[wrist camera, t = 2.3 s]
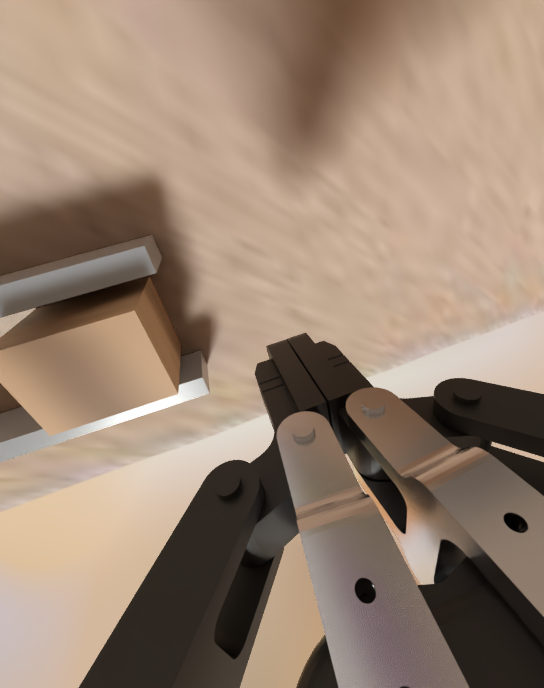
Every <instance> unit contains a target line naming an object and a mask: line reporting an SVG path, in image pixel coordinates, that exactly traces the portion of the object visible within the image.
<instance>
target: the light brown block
mask: <svg viewBox="0 0 544 688" xmlns="http://www.w3.org/2000/svg"><path fill="white" fill-rule="evenodd" d="M180 357H181V343H180V341H179V339H178V337H177V334H176V332H175V330H174V328H173V326H172V324H171V321H170V319H169V317H168V315H167V313H166V311H165V308H164V306H163V304H162V302H161V300H160V298H159V295H158V293H157V291H156V289H155V287H154V285H153V282H152V280H151V278H150V276H149V277H145V278H142V279H138V280H135V281H131V282H128V283H124V284H121V285H117V286H114V287H110V288H107V289H103V290H100V291H96V292H93V293H90V294H86V295H83V296H79V297H76V298H72V299H69V300H65V301H62V302H58V303H55V304H51V305H48V306H44V307H41V308H37V309H35V310H34V311H33V312H31V313H30V314H29V315H28V316H27V317H25V318H24V319H23V320H22V321H20V322H19V323H18V324H17V325H16V326H14V327H13V328H12V329H11V330H9V331H8V332H7V333H6V334H5V335H3V336H2V337H1V338H0V383H1V384H2V385H3V386H4V387H5V388H6V390H7V391H8V392H9V393H10V394H11V395H12V396H13V397H14V398H15V399H16V400H17V401H18V402H19V403H20V405H21V406H22V407H23V408H24V409H25V410H26V411H27V412H28V413H29V414H30V415H31V416H32V417H33V418H34V419H35V421H36V422H37V423H38V424H39V425H40V426H41V427H42V428H43V429H44V430H45V431H46V432H47V433H48V434H49V436H52V435H55V434H58V433H61V432H64V431H67V430H70V429H73V428H77V427H80V426H83V425H86V424H89V423H92V422H95V421H98V420H101V419H104V418H107V417H110V416H113V415H116V414H119V413H122V412H125V411H128V410H131V409H134V408H137V407H140V406H143V405H146V404H149V403H152V402H155V401H159V400H162V399H165V398H168V397H171V396H174V395H177V394H178V390H179V374H180Z"/></svg>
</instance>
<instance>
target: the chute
mask: <svg viewBox="0 0 544 688" xmlns="http://www.w3.org/2000/svg"><path fill="white" fill-rule="evenodd" d="M161 260H162V256H161V254H160V251H159V249H158V247H157V244H156V242H155V239H154V237H153V235H149V236H145V237H141V238H138V239H134V240H130V241H127V242H123V243H119V244H116V245H112V246H108V247H105V248H101V249H97V250H94V251H90V252H86V253H83V254H79V255H75V256H72V257H68V258H64V259H60V260H57V261H53V262H49V263H46V264H42V265H38V266H35V267H31V268H27V269H24V270H20V271H16V272H13V273H9V274H5V275H2V276H0V318H1V317H4V316H8V315H11V314H15V313H18V312H22V311H25V310H29V309H32V308H36V307H39V306H43V305H46V304H50V303H54V302H57V301H61V300H64V299H68V298H71V297H75V296H78V295H82V294H85V293H89V292H92V291H96V290H99V289H103V288H106V287H110V286H113V285H117V284H120V283H124V282H127V281H131V280H134V279H138V278H141V277H145V276H148V275H152V274H155V273H157V270H158V268H159V265H160V262H161ZM209 393H210V392H209V380H208V368H207V363H206V361H205V359H204V356H203V354H202V351H201V350H200V351H197V352H194V353H191V354H187V355H184V356H181V357H180V374H179V390H178V394H177V395H174V396H171V397H168V398H165V399H162V400H159V401H155V402H152V403H149V404H146V405H143V406H140V407H137V408H134V409H131V410H128V411H125V412H122V413H119V414H116V415H113V416H110V417H107V418H104V419H101V420H98V421H95V422H92V423H89V424H86V425H83V426H80V427H77V428H73V429H70V430H67V431H64V432H61V433H58V434H55V435H52V436H49V434H48V433H47V432H46V431H45V430H44V429H43V428H42V427H41V426H40V425H39V424H38V423H37V422H36V421H35V419H34V418H33V417H32V416H31V415H30V414H29V413H28V412H27V411H26V410H25V409H24V408H23V407H19V408H16V409H12V410H9V411H6V412H3V413H0V462H3V461H6V460H9V459H12V458H15V457H18V456H21V455H24V454H27V453H30V452H33V451H36V450H39V449H43V448H46V447H49V446H52V445H55V444H58V443H61V442H64V441H67V440H70V439H73V438H76V437H79V436H82V435H85V434H88V433H91V432H94V431H97V430H100V429H103V428H106V427H109V426H112V425H115V424H118V423H121V422H124V421H128V420H131V419H134V418H137V417H140V416H143V415H146V414H149V413H152V412H155V411H158V410H161V409H164V408H167V407H170V406H173V405H176V404H179V403H182V402H185V401H188V400H191V399H194V398H197V397H200V396H203V395H206V394H209Z"/></svg>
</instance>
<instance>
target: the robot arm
mask: <svg viewBox="0 0 544 688" xmlns="http://www.w3.org/2000/svg"><path fill="white" fill-rule="evenodd" d="M266 347H267V352H268V355H269V359H270V360H267V361H264V362H261V363H258V364H257V367H256V371H255V376H256V379H257V382H258V385H259V388H260V392H261V395H262V398H263V401H264V404H265V407H266V410H267V412H268V415H269V418H270V420H271V423H272V426H273V429H274V432H275V433H274V438H273V441H272V443H271V445H270V446H269V448H268V449H267V450H266V451H265V452H264V453H263V454H262V455H261V456H259V457H258V458H256V459H255V460H254V461H252V462H251V463H248V462H246V461H242V460H233V461H228V462H225V463H223V464H221V465H219V466H218V467H216V468H215V469H214V470H212V472H211V473H210V474H209V475H208V476H207V477H206V479H205V480H204V482H203V484H202V485H201V487H200V488H199V490H198V492H197V493H196V495H195V497H194V498H193V500H192V502H191V503H190V505H189V507H188V508H187V510H186V512H185V513H184V515H183V517H182V518H181V520H180V522H179V523H178V525H177V526H176V528H175V530H174V531H173V533H172V535H171V536H170V538H169V540H168V541H167V543H166V545H165V546H164V548H163V550H162V551H161V553H160V555H159V556H158V558H157V559H156V561H155V563H154V565H153V566H152V568H151V569H150V571H149V573H148V574H147V576H146V578H145V579H144V581H143V583H142V584H141V586H140V587H139V589H138V591H137V592H136V594H135V596H134V597H133V599H132V601H131V602H130V604H129V606H128V607H127V609H126V611H125V612H124V614H123V616H122V617H121V619H120V620H119V622H118V624H117V625H116V627H115V629H114V630H113V632H112V634H111V635H110V637H109V639H108V640H107V642H106V644H105V645H104V647H103V649H102V650H101V652H100V653H99V655H98V657H97V658H96V660H95V662H94V664H93V665H92V667H91V668H90V670H89V672H88V673H87V675H86V677H85V678H84V680H83V682H82V683H81V685H80V687H79V688H240V685H241V682H242V678H243V675H244V672H245V669H246V666H247V663H248V660H249V657H250V654H251V650H252V647H253V644H254V641H255V638H256V635H257V632H258V629H259V626H260V622H261V619H262V616H263V613H264V610H265V607H266V604H267V601H268V597H269V595H270V591H271V588H272V585H273V582H274V579H275V576H276V573H277V570H278V567H279V564H280V560H281V557H282V554H283V550H284V546H285V545H286V544H287V543H288V542H290V541H291V540H292V539H293V538H294V537H295V536H296V535H297V534H298V533H300V537H301V540H302V545H303V548H304V553H305V557H306V561H307V564H308V569H309V572H310V577H311V580H312V584H313V588H314V592H315V596H316V600H317V604H318V608H319V612H320V616H321V620H322V624H323V628H324V632H325V635H324V637H323V638H322V639H321V641H320V642H319V643H318V645H317V646H316V647H315V649H314V650H313V652H312V654H311V656H310V657H309V659H308V661H307V663H306V665H305V667H304V670H303V672H302V674H301V677H300V679H299V681H298V684H297V688H544V462H541V461H538V460H534V459H531V458H528V457H525V456H521V455H518V454H515V453H512V452H509V451H506V450H502V449H499V448H496V447H493V446H491V443H492V442H495V443H499V444H502V445H505V446H509V447H512V448H515V449H519V450H522V451H525V452H529V453H532V454H535V455H538V456H542V457H544V394H540V393H535V392H530V391H525V390H520V389H515V388H511V387H506V386H501V385H496V384H491V383H486V382H481V381H477V380H472V379H465V378H454V379H448V380H445V381H443V382H441V383H440V384H438V385H437V386H436V388H435V390H434V396H431V397H420V398H409V399H401V398H398V397H397V396H396V395H394V394H393V393H392V392H390V391H388V390H385V389H381V388H374V387H373V386H372V385H371V384H370V383H369V381H368V380H367V379H366V378H365V377H364V376H363V375H362V374H361V373H360V372H359V371H358V370H357V369H356V368H355V366H354V365H353V364H352V363H351V362H349V360H348V359H347V358H346V357H345V356H343V354H342V352H341V351H340V350H339V349H338V348H337V347H336V346H334V345H332V344H330V343H327V342H325V341H322V342H319V343H316V344H315V343H314V342H313V341H312V339H311V338H310V337H309V336H308V334H307V333H303V334H300V335H297V336H294V337H291V338H288V339H286V340H283V341H280V342H277V343H274V344H271V345H268V346H266ZM346 453H347V455H348V456H349V458H350V459H351V461H352V463H353V471H354V473H353V471H352V469H351V467H350V465H349V463H348V461H347V459H346V457H345V455H344V454H346ZM357 480H358V482H359V483H360V484H361V486H362V487H363V489H364V490H365V492H366V493H367V494H364V492H363V491H362V489H361V487H360V485H359V483H358V482H357ZM383 518H384V519H383ZM384 520H385V521H386V523H387V524H388V525H389V527H390V528H391V530H392V531H393V533H394V534H395V536H396V537H397V539H398V540H399V542H400V544H401V546H402V548H403V551H404V554H405V556H406V559H407V561H408V563H409V565H410V567H411V569H412V571H413V572H414V574H415V576H416V577H417V579H418V581H419V582H420V584H421V585H417V584H416V582H415V580H414V578H413V576H412V574H411V572H410V570H409V568H408V566H407V564H406V562H405V561H404V558H403V556H402V554H401V552H400V550H399V548H398V546H397V545H396V542H395V541H394V539H393V537H392V535H391V533H390V531H389V529H388V527H387V525H386V523H385V521H384Z"/></svg>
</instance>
